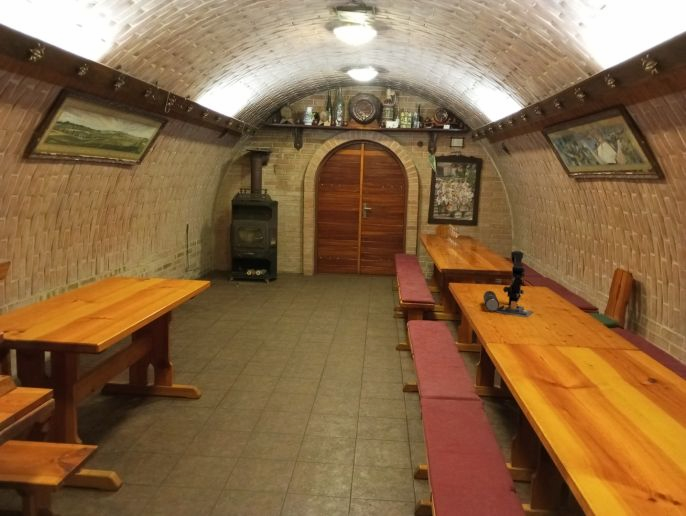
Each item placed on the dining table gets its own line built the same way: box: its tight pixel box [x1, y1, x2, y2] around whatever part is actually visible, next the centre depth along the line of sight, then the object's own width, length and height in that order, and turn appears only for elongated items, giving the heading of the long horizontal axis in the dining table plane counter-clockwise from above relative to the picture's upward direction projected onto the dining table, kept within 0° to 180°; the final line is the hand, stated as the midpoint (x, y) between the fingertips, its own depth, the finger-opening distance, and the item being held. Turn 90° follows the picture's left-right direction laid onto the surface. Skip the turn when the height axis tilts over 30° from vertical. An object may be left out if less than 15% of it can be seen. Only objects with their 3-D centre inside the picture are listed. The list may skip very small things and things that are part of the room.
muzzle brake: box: [483, 290, 500, 312], centre depth 399 cm, size 10×28×10 cm, turn 169°
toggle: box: [510, 301, 518, 309], centre depth 386 cm, size 3×3×7 cm
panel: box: [495, 306, 534, 318], centre depth 389 cm, size 16×22×1 cm
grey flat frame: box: [496, 305, 527, 315], centre depth 389 cm, size 15×20×1 cm
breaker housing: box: [505, 305, 527, 312], centre depth 388 cm, size 13×12×2 cm
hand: (514, 305), depth 388 cm, fingers closed
